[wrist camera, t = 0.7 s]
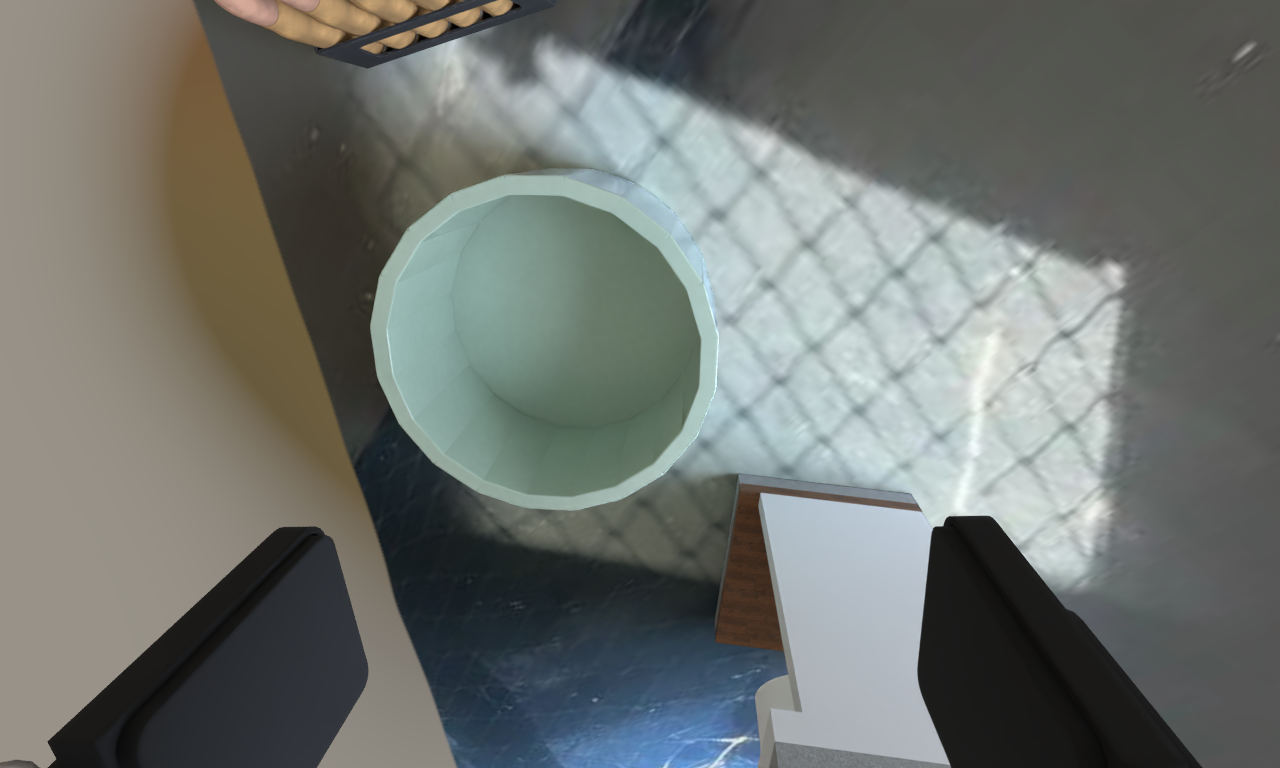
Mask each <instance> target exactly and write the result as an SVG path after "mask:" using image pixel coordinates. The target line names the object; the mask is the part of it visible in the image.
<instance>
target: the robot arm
mask: <svg viewBox="0 0 1280 768" xmlns="http://www.w3.org/2000/svg"><path fill="white" fill-rule="evenodd" d="M917 675H918V683H919V688H920V692H921V695H922V698H923V700H924V702H925V705H926V707H927V710H928V712H929V715H930V717H931V719H932V722H933V724H934V727H935V729H936V732H937V734H938V736H939V739H940V741H941V744H942V746H943V749H944V751H945V753H946V756H947V758H948V761H949V763H950V766H951V768H1202V767H1201V766H1200V764H1199V763H1198V762H1197V761H1196V759H1195V758H1194V757H1193V756H1192V754H1191V753H1190V752H1189V751H1188V750H1187V748H1186V747H1185V746H1184V745H1183V743H1182V742H1181V741H1180V740H1179V738H1178V737H1177V736H1176V735H1175V734H1174V732H1173V731H1172V730H1171V729H1170V727H1169V726H1168V725H1167V724H1166V722H1165V721H1164V720H1163V719H1162V718H1161V716H1160V715H1159V714H1158V713H1157V711H1156V710H1155V709H1154V708H1153V706H1152V705H1151V704H1150V703H1149V702H1148V700H1147V699H1146V698H1145V697H1144V695H1143V694H1142V693H1141V692H1140V690H1139V689H1138V688H1137V687H1136V685H1135V684H1134V683H1133V682H1132V681H1131V679H1130V678H1129V677H1128V676H1127V674H1126V673H1125V672H1124V671H1123V669H1122V668H1121V667H1120V666H1119V665H1118V663H1117V662H1116V661H1115V660H1114V658H1113V657H1112V656H1111V655H1110V653H1109V652H1108V651H1107V650H1106V649H1105V647H1104V646H1103V645H1102V644H1101V642H1100V641H1099V640H1098V639H1097V637H1096V636H1095V635H1094V634H1093V633H1092V631H1091V630H1090V629H1089V628H1088V626H1087V625H1086V624H1085V623H1084V621H1083V620H1082V619H1081V618H1080V617H1079V616H1077V615H1076V614H1075V613H1074V612H1072V611H1070V610H1068V609H1065V607H1064V606H1063V605H1062V604H1061V602H1060V601H1059V600H1058V599H1057V597H1056V596H1055V595H1054V594H1053V592H1052V591H1051V590H1050V589H1049V587H1048V586H1047V585H1046V584H1045V582H1044V581H1043V580H1042V579H1041V577H1040V576H1039V575H1038V574H1037V572H1036V571H1035V570H1034V568H1033V567H1032V566H1031V565H1030V563H1029V562H1028V561H1027V560H1026V558H1025V557H1024V556H1023V555H1022V553H1021V552H1020V551H1019V550H1018V548H1017V547H1016V546H1015V545H1014V543H1013V542H1012V541H1011V540H1010V538H1009V537H1008V536H1007V535H1006V533H1005V532H1004V531H1003V530H1002V528H1001V527H1000V526H999V524H998V523H997V522H996V521H995V520H994V519H993V518H992V517H990V516H949V517H948V518H946V520H945V522H944V526H939V527H934V528H933V530H932V534H931V541H930V551H929V561H928V570H927V580H926V589H925V599H924V608H923V618H922V627H921V637H920V647H919V656H918V666H917ZM367 678H368V663H367V659H366V656H365V653H364V649H363V645H362V642H361V638H360V634H359V631H358V627H357V624H356V620H355V616H354V613H353V609H352V605H351V602H350V598H349V595H348V591H347V587H346V584H345V580H344V577H343V573H342V569H341V566H340V562H339V558H338V555H337V551H336V548H335V544H334V542H333V540H332V538H331V537H329V536H327V535H325V534H324V532H323V531H322V530H321V529H320V528H318V527H282V528H279V529H277V530H276V531H274V532H273V533H272V534H271V535H270V536H269V537H268V538H266V539H265V540H264V541H263V542H262V543H261V544H260V545H259V546H258V547H257V548H256V549H255V550H254V551H252V552H251V553H250V554H249V555H248V556H247V557H246V558H245V559H244V560H243V561H242V562H241V563H240V564H238V565H237V566H236V567H235V568H234V569H233V570H232V571H231V572H230V573H229V574H228V575H227V576H226V577H224V578H223V579H222V580H221V581H220V582H219V583H218V584H217V585H216V586H215V587H214V588H213V589H212V590H210V592H208V593H207V594H206V595H205V596H204V597H203V598H202V599H201V600H200V601H199V602H198V603H196V604H195V605H194V606H193V607H192V608H191V609H190V610H189V611H188V612H187V613H186V614H185V615H184V616H182V617H181V618H180V619H179V620H178V621H177V622H176V623H175V624H174V625H173V626H172V627H171V628H170V629H168V630H167V631H166V632H165V633H164V634H163V635H162V636H161V637H160V638H159V639H158V640H157V641H156V642H154V643H153V644H152V645H151V646H150V647H149V648H148V649H147V650H146V651H145V652H144V653H143V654H141V655H140V657H138V658H137V659H136V660H135V661H134V662H133V663H132V664H131V665H130V666H129V667H127V668H126V670H124V671H123V672H122V673H121V674H120V675H119V676H118V677H117V678H116V679H115V680H113V681H112V682H111V683H110V684H109V685H108V686H107V687H106V688H105V689H104V690H103V691H102V692H101V693H99V694H98V695H97V696H96V697H95V698H94V699H93V700H92V701H91V702H90V703H89V704H88V705H87V706H85V707H84V708H83V709H82V710H81V711H80V712H79V713H78V714H77V715H76V716H75V717H74V718H73V719H71V721H69V722H68V723H67V724H66V725H65V726H64V727H63V728H62V729H61V730H60V731H59V732H57V733H56V734H55V735H54V736H53V737H52V738H51V739H50V740H49V741H48V744H49V746H50V747H51V749H52V751H53V753H54V755H55V757H56V760H55V761H54V762H53V763H52V764H51V765H50V766H49V767H48V768H317V766H318V765H319V763H320V761H321V760H322V758H323V756H324V754H325V753H326V751H327V749H328V748H329V746H330V745H331V743H332V741H333V740H334V738H335V736H336V735H337V733H338V732H339V730H340V728H341V727H342V725H343V723H344V722H345V720H346V718H347V717H348V715H349V713H350V711H351V710H352V708H353V706H354V705H355V703H356V702H357V700H358V698H359V697H360V695H361V693H362V691H363V690H364V688H365V685H366V682H367ZM0 768H39V767H38V766H37V765H36V764H34V763H33V762H31V761H22V760H13V761H7V762H1V763H0Z"/></svg>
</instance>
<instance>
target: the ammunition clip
mask: <svg viewBox="0 0 1280 768" xmlns="http://www.w3.org/2000/svg"><path fill="white" fill-rule="evenodd" d="M214 1H215V2H216V3H217V4H218V5H219V6H221V7H222V8H224V9H225V10H226V11H228V12H230V13H231V14H233V15H235V16H237V17H239V18H242V19H244V20H246V21H248V22H251V23H254V24H257V25H260V26H262V27H264V28H267V29H270V30H272V31H274V32H275V33H277V34H279V35H281V36H283V37H285V38H287V39H290V40H294V41H297V42H301V43H305V44H308V45H312V46H315V47H314V49H315V51H316V53H317V54H318V55H322V56H325V57H329V58H332V59H336V60H340V61H343V62H347V63H350V64H354V65H357V66H361V67H364V68H370V67H373V66H376V65H379V64H382V63H385V62H388V61H391V60H394V59H397V58H400V57H403V56H406V55H409V54H412V53H415V52H418V51H421V50H424V49H427V48H430V47H433V46H436V45H439V44H442V43H445V42H448V41H451V40H454V39H457V38H460V37H463V36H466V35H469V34H472V33H475V32H478V31H481V30H484V29H487V28H490V27H493V26H496V25H499V24H502V23H505V22H508V21H511V20H514V19H517V18H520V17H523V16H526V15H529V14H532V13H535V12H538V11H541V10H544V9H547V8H550V7H553V6H555V5H556V4H557V2H558V1H557V0H214ZM319 47H320V48H319ZM322 48H323V49H322Z"/></svg>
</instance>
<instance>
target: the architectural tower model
mask: <svg viewBox="0 0 1280 768" xmlns="http://www.w3.org/2000/svg"><path fill="white" fill-rule="evenodd" d="M932 530H933V528H932V526H931V525H930V523H929V521H928V520H927V518H926V517H925V515H924V513H923V512H922V510H921V509H920V507H919V505H918V504H917V502H916V501H915V499H914V497H913V496H912V494H906V493H897V492H889V491H880V490H872V489H863V488H855V487H846V486H838V485H829V484H821V483H812V482H804V481H795V480H787V479H778V478H770V477H761V476H753V475H745V474H739V475H738V481H737V487H736V493H735V499H734V505H733V511H732V517H731V524H730V530H729V536H728V542H727V548H726V554H725V560H724V566H723V572H722V579H721V585H720V591H719V597H718V603H717V609H716V615H715V642H716V643H724V644H732V645H739V646H747V647H755V648H763V649H770V650H778V651H784V653H785V659H786V664H787V670H788V675H785V676H781V677H777V678H775V679H772V680H770V681H768V682H766V683H765V684H763V685H762V686H761V687H760V688H759V689H758V691H757V692H756V695H755V701H756V710H757V719H758V728H759V737H760V746H761V754H760V759H759V763H758V768H951V766H950V763H949V761H948V758H947V756H946V753H945V751H944V749H943V746H942V744H941V741H940V739H939V736H938V734H937V732H936V729H935V727H934V724H933V722H932V719H931V717H930V715H929V712H928V710H927V707H926V705H925V702H924V700H923V698H922V695H921V692H920V688H919V683H918V675H917V666H918V656H919V647H920V637H921V627H922V618H923V608H924V599H925V589H926V580H927V570H928V561H929V551H930V541H931V534H932Z"/></svg>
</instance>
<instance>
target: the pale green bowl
mask: <svg viewBox="0 0 1280 768" xmlns="http://www.w3.org/2000/svg"><path fill="white" fill-rule="evenodd" d="M370 326H371V327H370V330H371V337H372V344H373V351H374V358H375V365H376V372H377V378H378V381H379V383H380V385H381V387H382V389H383V391H384V393H385V395H386V398H387V400H388V402H389V404H390V406H391V408H392V410H393V412H394V415H395V417H396V419H397V421H398V423H399V425H400V426H401V427H402V428H403V429H404V431H405V432H406V433H407V434H408V435H409V436H410V437H411V439H412V440H413V441H414V442H415V443H416V444H417V445H418V447H419V448H420V449H421V450H422V451H423V452H424V453H425V455H426V456H427V457H428V458H429V459H430V460H431V461H432V463H435V465H436V466H438V467H439V468H441V469H442V470H444V471H445V472H447V473H448V474H450V475H451V476H453V477H454V478H456V479H457V480H459V481H460V482H462V483H463V484H465V485H466V486H468V487H469V488H471V489H472V490H474V491H477V492H478V493H480V494H483V495H486V496H489V497H492V498H495V499H498V500H501V501H504V502H507V503H510V504H513V505H516V506H519V507H522V508H524V507H525V508H528V509H548V510H568V511H574V510H575V511H576V510H580V509H584V508H589V507H593V506H597V505H601V504H606V503H610V502H614V501H618V500H621V499H624V498H625V497H627V496H629V495H630V494H632V493H634V492H635V491H637V490H639V489H641V488H642V487H644V486H646V485H647V484H649V483H651V482H652V481H654V480H656V479H657V478H659V477H661V476H663V474H665V473H666V472H667V471H668V470H669V469H670V467H671V466H672V465H673V464H674V463H675V462H676V461H677V459H678V458H679V457H680V456H681V455H682V454H683V453H684V451H685V450H686V449H687V448H688V447H689V446H690V445H691V443H692V442H693V441H694V440H695V439H696V437H697V436H698V434H699V431H700V429H701V426H702V424H703V421H704V419H705V417H706V414H707V412H708V409H709V407H710V404H711V402H712V399H713V397H714V394H715V392H716V386H717V367H718V348H719V333H718V326H717V318H716V310H715V302H714V295H713V291H712V287H711V284H710V280H709V276H708V272H707V269H706V266H705V262H704V259H703V255H702V253H701V251H700V249H699V248H698V246H697V245H696V243H695V241H694V239H693V237H692V236H691V234H690V233H689V231H688V230H687V228H686V227H685V226H684V224H683V223H682V222H681V220H680V219H679V218H678V217H677V215H675V213H674V212H673V211H672V210H671V209H670V208H669V207H667V206H666V205H665V204H664V203H663V202H662V201H660V200H659V199H658V198H657V197H656V196H654V195H653V194H651V193H650V192H648V191H646V190H645V189H643V188H642V187H641V186H639V185H637V184H635V183H632V182H630V181H628V180H626V179H624V178H621V177H618V176H615V175H612V174H609V173H606V172H602V171H598V170H596V169H581V168H546V169H539V170H533V171H526V172H519V173H513V174H506V175H501V176H498V177H495V178H492V179H489V180H487V181H484V182H481V183H478V184H475V185H472V186H469V187H466V188H463V189H460V190H457V191H454V192H452V193H450V194H448V195H447V196H446V197H444V198H443V199H442V200H441V201H439V202H438V203H437V204H436V205H435V206H433V207H432V208H431V209H430V210H428V211H427V212H426V213H425V214H424V215H422V216H421V217H420V218H419V219H417V220H416V221H415V222H414V223H413V224H411V225H410V226H409V227H408V229H406V230H405V232H404V234H403V236H402V237H401V239H400V241H399V242H398V244H397V246H396V248H395V249H394V251H393V253H392V254H391V256H390V258H389V260H388V261H387V263H386V265H385V266H384V268H383V270H382V272H381V275H379V280H378V285H377V291H376V296H375V302H374V307H373V313H372V318H371V324H370Z"/></svg>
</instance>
